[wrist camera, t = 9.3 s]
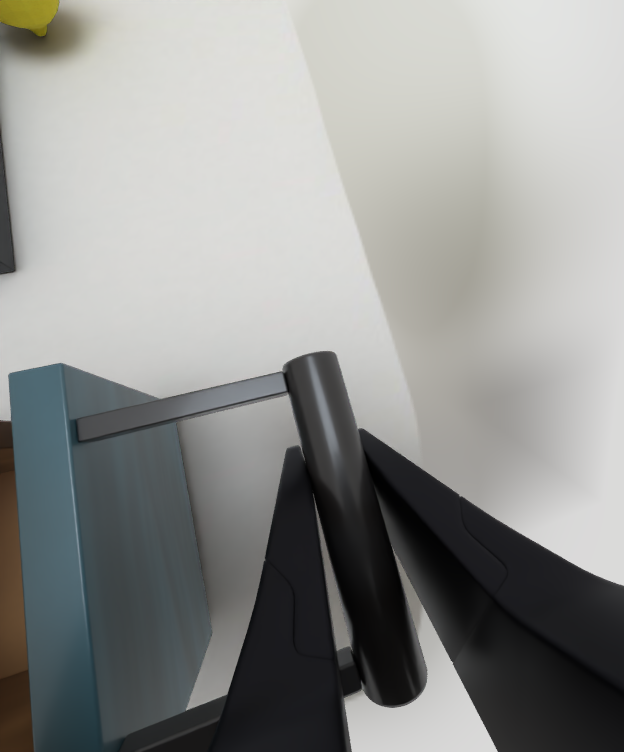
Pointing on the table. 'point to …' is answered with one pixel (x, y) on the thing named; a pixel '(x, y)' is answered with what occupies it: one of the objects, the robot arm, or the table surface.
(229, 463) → the table surface
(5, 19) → the lemon
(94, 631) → the drawer
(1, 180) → the picture frame
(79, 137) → the table surface
